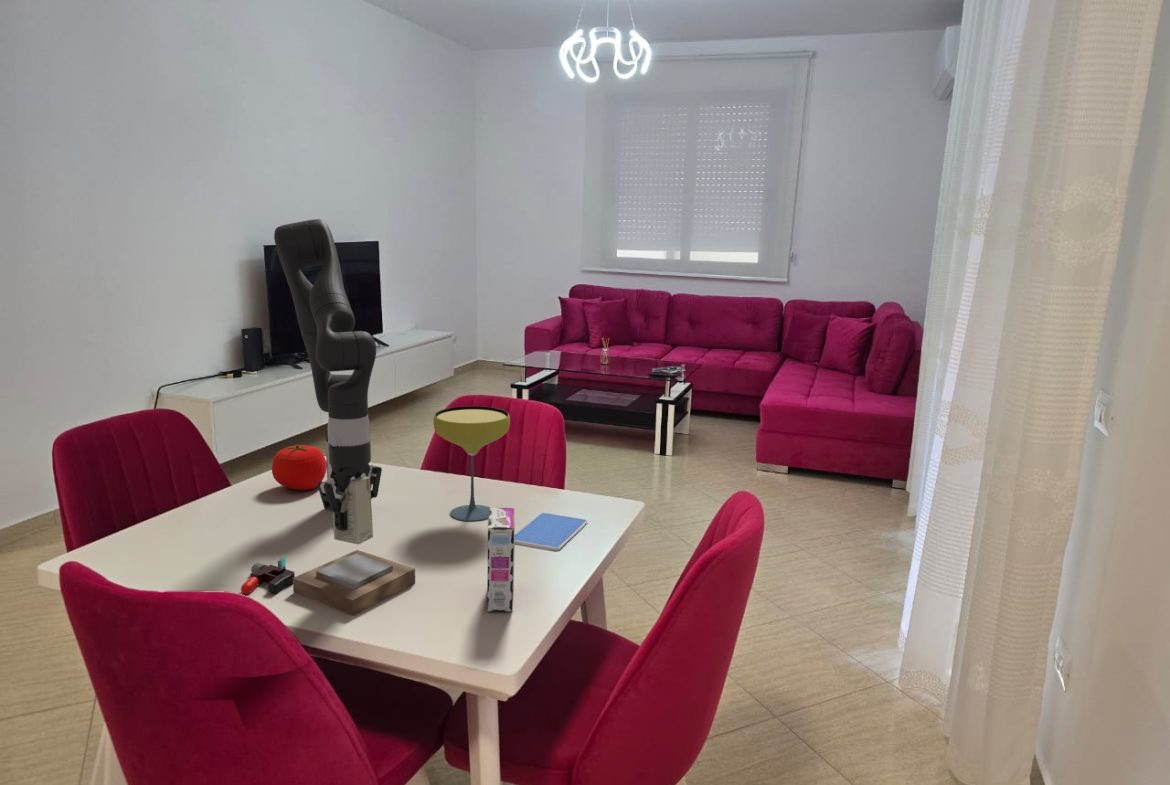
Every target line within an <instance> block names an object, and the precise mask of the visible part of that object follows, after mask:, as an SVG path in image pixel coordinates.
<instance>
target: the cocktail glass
mask: <svg viewBox="0 0 1170 785" xmlns="http://www.w3.org/2000/svg"><path fill="white" fill-rule="evenodd" d="M510 426H511V416H510V414H509V412H508V411H507V410H504V409H502V408H499V407H498V408H497V407H491V406H484V405H483V406H481V405H466V406H465V405H464V406H455V407H448V408H443V409H441V410H439V411H436V412H435V413H434V416H433V429H434V431H435V433H436V434H437V435H438V436H439V437H441V438H442V439H444V440H445V441H447V442H450V443H451V444H454V445H456V446H459V447H461V448H462V449H463V450H464V451H465V453H466V454H467V455H469V456H470V500H469V504H464V505H459V506H457V507H454V508H452V509H451V511H450V512H449V515H450V516H451V518H453V519H455V520H457V521H462V522H481V521H485V520H489V512H490V508H491V506H488V505H482V504H476V500H475V488H474V487H475V486H474V485H475V483H474V482H475V481H474V471H475V470H474V460H475V459H474V456H476V455H477V454H478V453H479V452H480V450H481V449H482V448H483V447H485V446H486V445H489V444H492V443H493V442H495V441H497V440H499V439H501V438H503V436H505V435H506V434H507V433H508V432H509V429H510Z"/></svg>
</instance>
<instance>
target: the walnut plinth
mask: <svg viewBox="0 0 1170 785" xmlns="http://www.w3.org/2000/svg"><path fill="white" fill-rule="evenodd" d="M414 584H416V568H414V567H411V566H409V565H406V564H403V563H399V562H396V561H393V560H390V559H386V558H383V557H381V556H378V555H375V554H371V553H367V552H365V551H362V550H359V549H356V550H353V551H351V552H349V553H346V554H344V555H342V556H340V557H337V558H335V559H332V560H331V561H328V562H326V563H324V564H321V565H319V566H317V567H315V568H313V569H310V570H308V571H306V572H305V571H304V572H303V573H301V574H299V575H297V576H296V575H295V577H294V578H293V584H292V587H293V588H292V589H293V590H292V591H293V594H295V595H299V596H301V597H304V598H306V599H308V600H312V601H314V602H317V603H319V604H322V605H324V606H328V607H329V608H332V609H335V610H338V611H341V612H343V613H345V614H348V615H350V616H355V615H357V614H359V613H361V612H363V611H365V610H366V609H368V608H370V607H372V606H374V605H376V604H378V603H379V602H382V601H384V600H385V599H387V598H389V597H391V596H393V595H395V594H396V593H398V592H401V591H403V590H405V589H406V588H408V587H410V586H412V585H414Z"/></svg>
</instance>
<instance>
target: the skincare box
mask: <svg viewBox="0 0 1170 785" xmlns="http://www.w3.org/2000/svg"><path fill="white" fill-rule="evenodd" d="M334 486H335V485H334ZM349 490H350V500H348V502H347V507H346V512H347V530H345V531H341V530H338V529H337V528H336V527H335V518H334V512H332V511H331V512H332V525H333V539H334V540H335V541H340V542H345V543H349V544H354V545H361V544H363V543H364V542H367V541H368V540H371V539H372V538H374V530H373V528H374V527H373V512H372V499H371V490H372V488H371V489H370V477H364V478H355V481H352V482H351V483H350V486H349ZM337 492H338V494H341V495H344V493H343V492H340V491H339V490H338V489H337ZM340 504H341V499H340ZM340 504H339V505H340Z"/></svg>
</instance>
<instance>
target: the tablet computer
mask: <svg viewBox="0 0 1170 785" xmlns="http://www.w3.org/2000/svg"><path fill="white" fill-rule="evenodd" d="M587 522H588V523H589V520H587V519H585V518H584V519H583V518H579V517H578V518H577V517H572V516H566V515H560V514H555V513H554V514H552V513H547V512H541V513H539V514H538V515H536V517H535V518H533V519H532V520H531V521H529V523H527V524H526V525H525V526H524V527H522V528H521V529H519V530H518V531H517V532H516V533H515V545H519V546H525V547H530V548H537V549H542V550H548V551H557V552H558V551H560V550H561V549H562V548H563V547H564V546H565V545H566V544H567V543H569V541H570V540H572V538H573V537H574V536H575V535H577V534H578V533H579V532H580V531H581V530H582V529H584V527H585V526H586V525H587V524H588V523H587ZM586 523H587V524H586ZM585 524H586V525H585Z"/></svg>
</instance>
